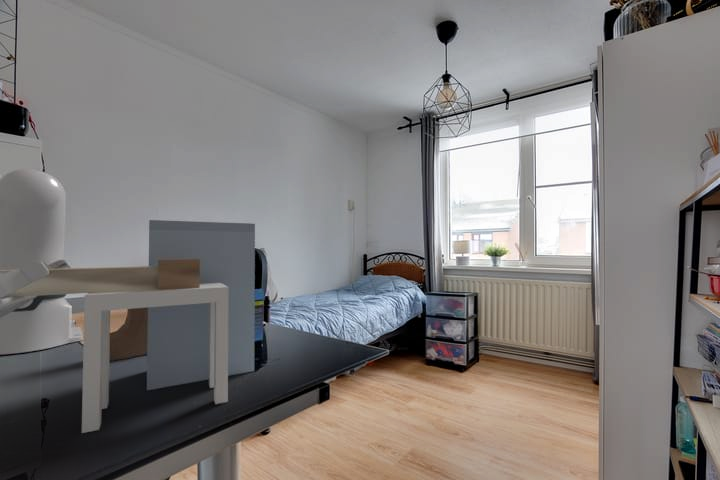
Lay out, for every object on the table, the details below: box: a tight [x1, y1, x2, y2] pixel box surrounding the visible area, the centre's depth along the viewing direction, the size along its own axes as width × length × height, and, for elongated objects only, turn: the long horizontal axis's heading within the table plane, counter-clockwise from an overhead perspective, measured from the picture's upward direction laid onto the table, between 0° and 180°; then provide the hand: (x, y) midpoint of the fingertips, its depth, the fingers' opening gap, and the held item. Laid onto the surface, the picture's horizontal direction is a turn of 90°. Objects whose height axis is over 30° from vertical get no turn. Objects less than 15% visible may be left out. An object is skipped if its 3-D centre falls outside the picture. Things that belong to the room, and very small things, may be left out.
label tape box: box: [254, 288, 265, 343], centre depth 78 cm, size 9×4×12 cm, turn 141°
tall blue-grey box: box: [146, 219, 256, 391], centre depth 60 cm, size 10×16×26 cm, turn 120°
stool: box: [81, 283, 229, 434], centre depth 47 cm, size 8×16×16 cm, turn 120°
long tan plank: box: [0, 259, 200, 297], centre depth 44 cm, size 5×21×4 cm, turn 120°
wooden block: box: [109, 265, 149, 363], centre depth 69 cm, size 9×4×18 cm, turn 135°
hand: (58, 265), depth 42 cm, fingers open, 8 cm apart
